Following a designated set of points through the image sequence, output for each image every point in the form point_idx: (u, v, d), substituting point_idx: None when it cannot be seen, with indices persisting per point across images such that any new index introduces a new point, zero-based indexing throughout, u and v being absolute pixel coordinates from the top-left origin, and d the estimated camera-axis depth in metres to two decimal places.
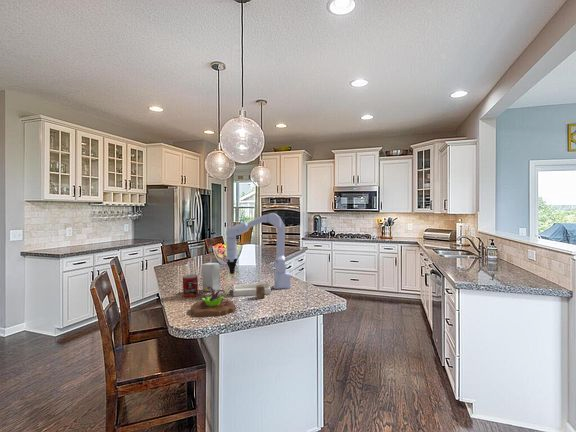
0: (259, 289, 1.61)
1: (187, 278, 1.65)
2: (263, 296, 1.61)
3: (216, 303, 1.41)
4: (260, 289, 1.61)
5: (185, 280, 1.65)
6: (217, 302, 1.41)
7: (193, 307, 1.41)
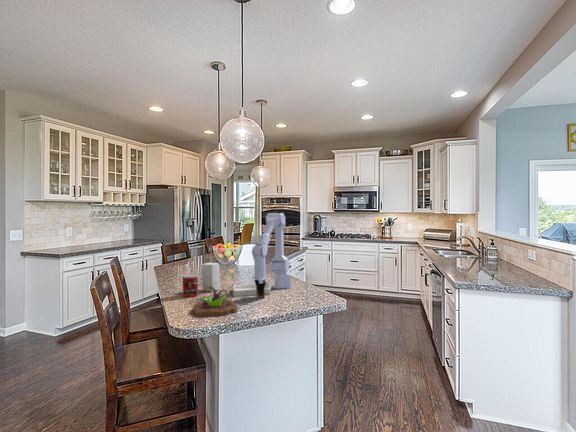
0: None
1: (187, 278, 1.65)
2: (263, 296, 1.61)
3: (218, 303, 1.41)
4: None
5: (185, 280, 1.65)
6: (219, 302, 1.41)
7: (195, 307, 1.41)
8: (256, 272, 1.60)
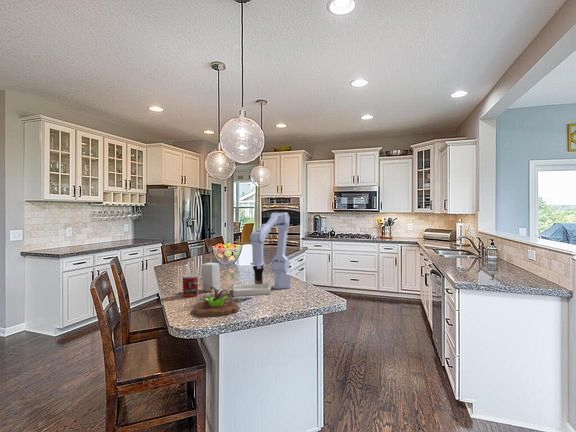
0: None
1: (187, 278, 1.65)
2: (261, 281, 1.64)
3: (219, 303, 1.40)
4: None
5: (185, 280, 1.65)
6: (220, 302, 1.40)
7: (196, 307, 1.41)
8: (254, 258, 1.63)
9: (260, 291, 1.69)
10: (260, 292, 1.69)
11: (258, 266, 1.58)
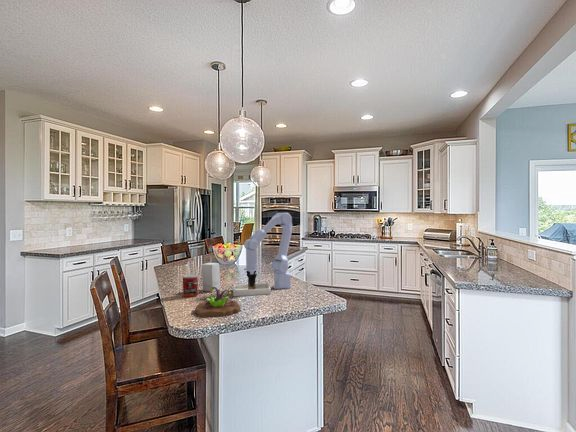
0: None
1: (187, 278, 1.65)
2: None
3: (221, 303, 1.40)
4: None
5: (185, 280, 1.65)
6: (222, 302, 1.40)
7: (198, 307, 1.41)
8: (247, 264, 1.73)
9: (260, 291, 1.69)
10: (260, 292, 1.69)
11: (251, 272, 1.68)
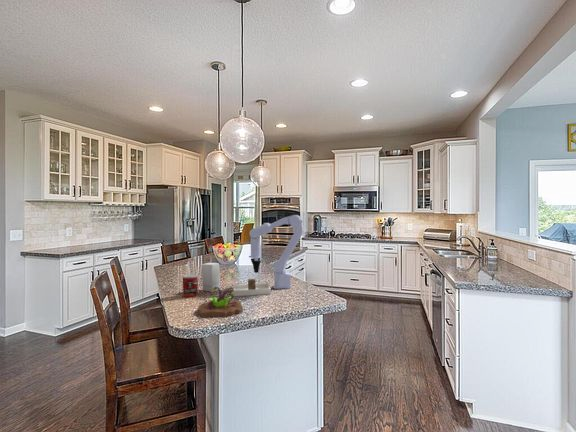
0: (250, 282, 1.73)
1: (187, 278, 1.65)
2: None
3: (223, 304, 1.40)
4: (251, 283, 1.73)
5: (185, 280, 1.65)
6: (224, 303, 1.40)
7: (200, 307, 1.41)
8: (252, 251, 1.84)
9: (260, 291, 1.69)
10: (260, 292, 1.69)
11: (255, 258, 1.79)
